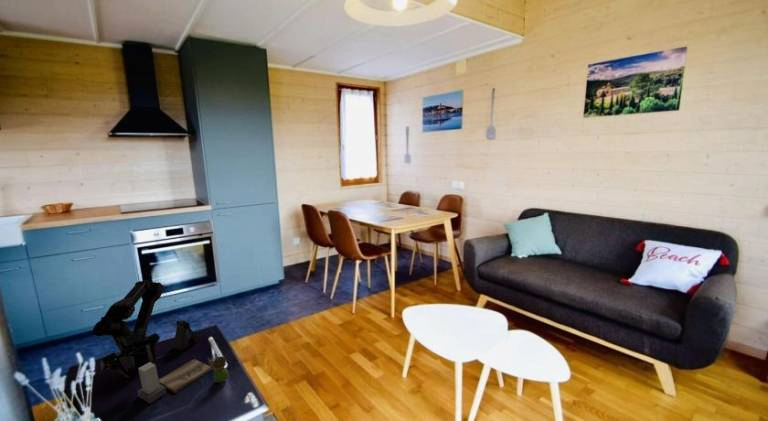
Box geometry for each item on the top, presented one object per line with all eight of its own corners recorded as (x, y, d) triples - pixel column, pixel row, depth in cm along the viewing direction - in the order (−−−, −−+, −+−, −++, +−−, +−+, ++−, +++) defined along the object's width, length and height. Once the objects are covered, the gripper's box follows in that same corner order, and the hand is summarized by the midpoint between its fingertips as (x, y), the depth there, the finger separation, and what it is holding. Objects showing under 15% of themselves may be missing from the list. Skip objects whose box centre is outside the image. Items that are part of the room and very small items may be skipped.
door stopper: (180, 351, 156) (175, 327, 153) (173, 347, 159) (168, 324, 157) (199, 341, 163) (195, 318, 161) (192, 338, 167) (188, 315, 164)
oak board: (158, 383, 136) (157, 380, 135) (194, 361, 148) (194, 358, 148) (175, 393, 130) (174, 390, 129) (211, 369, 142) (211, 366, 142)
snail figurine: (209, 382, 134) (204, 355, 132) (225, 374, 139) (221, 347, 137) (214, 389, 131) (210, 361, 128) (231, 380, 135) (227, 353, 133)
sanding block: (138, 396, 129) (132, 368, 126) (155, 386, 134) (149, 359, 131) (149, 403, 125) (143, 374, 122) (166, 393, 130) (161, 365, 127)
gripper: (96, 338, 120) (117, 375, 117) (153, 314, 136) (173, 346, 133) (91, 352, 126) (111, 388, 123) (146, 327, 142) (165, 358, 138)
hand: (142, 369), depth 129 cm, fingers open, 9 cm apart
